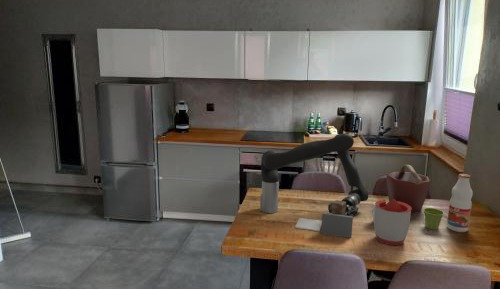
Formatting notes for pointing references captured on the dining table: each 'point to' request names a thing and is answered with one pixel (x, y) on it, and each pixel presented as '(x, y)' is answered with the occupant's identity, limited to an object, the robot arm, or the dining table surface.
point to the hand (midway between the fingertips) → (338, 213)
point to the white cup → (374, 210)
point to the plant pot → (433, 218)
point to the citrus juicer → (391, 221)
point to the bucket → (408, 187)
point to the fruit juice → (460, 205)
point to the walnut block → (339, 207)
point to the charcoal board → (337, 225)
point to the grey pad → (309, 224)
